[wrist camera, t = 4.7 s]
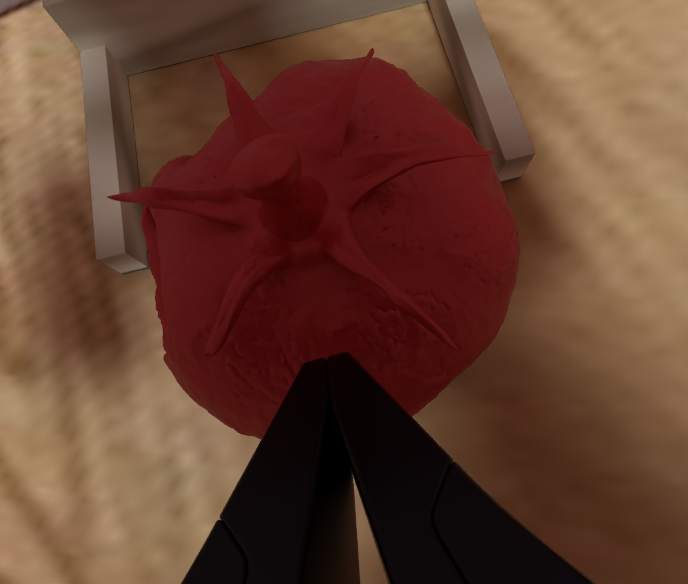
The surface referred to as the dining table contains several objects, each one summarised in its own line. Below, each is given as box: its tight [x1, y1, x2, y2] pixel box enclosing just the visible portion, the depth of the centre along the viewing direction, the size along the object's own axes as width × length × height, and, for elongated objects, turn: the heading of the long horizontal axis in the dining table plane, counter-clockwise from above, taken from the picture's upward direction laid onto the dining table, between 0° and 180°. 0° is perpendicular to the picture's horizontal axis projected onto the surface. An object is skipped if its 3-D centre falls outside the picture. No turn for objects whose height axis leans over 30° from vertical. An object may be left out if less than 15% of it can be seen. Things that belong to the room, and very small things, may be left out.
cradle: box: [42, 0, 535, 274], centre depth 16 cm, size 10×15×4 cm, turn 103°
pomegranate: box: [107, 48, 520, 439], centre depth 11 cm, size 10×10×9 cm
